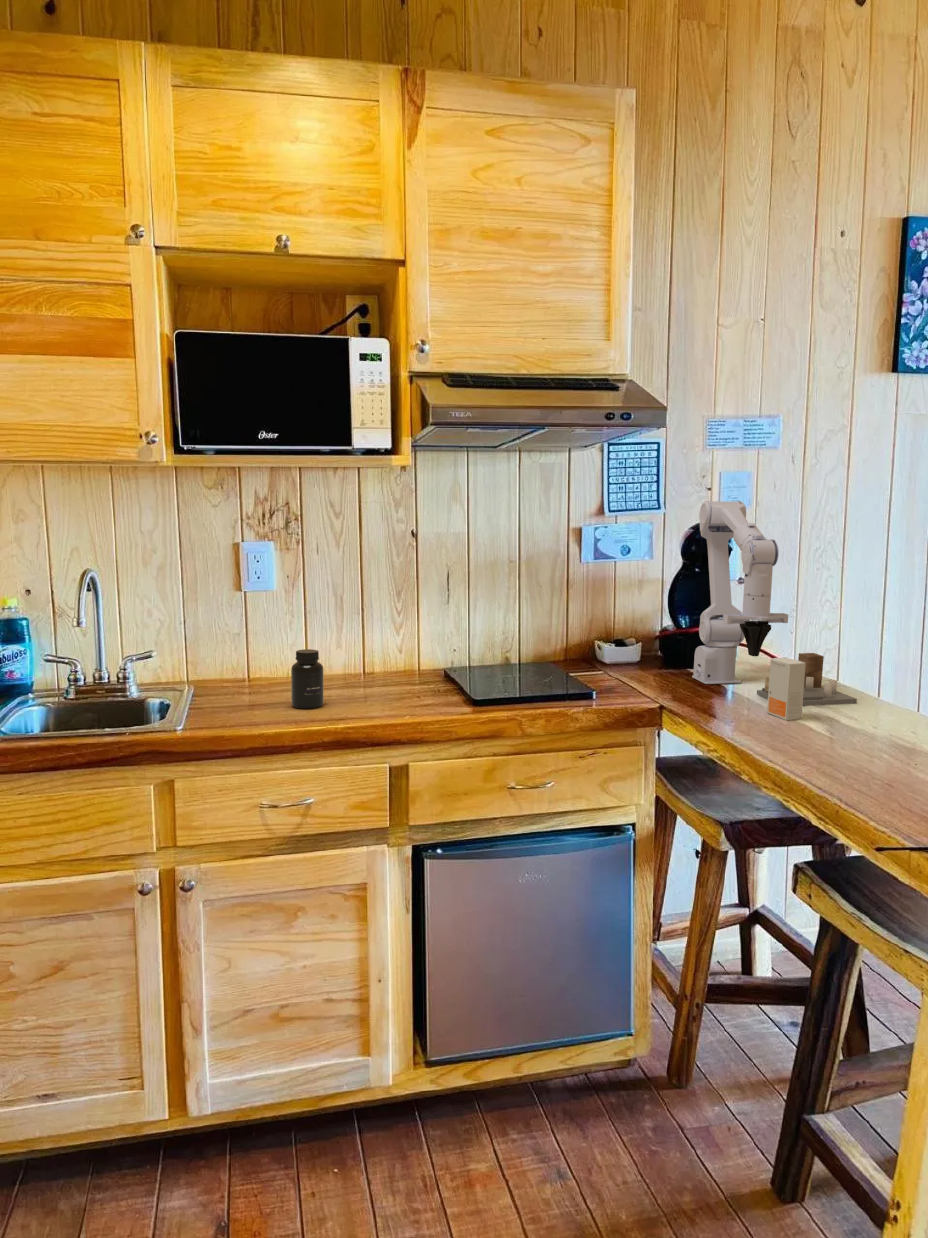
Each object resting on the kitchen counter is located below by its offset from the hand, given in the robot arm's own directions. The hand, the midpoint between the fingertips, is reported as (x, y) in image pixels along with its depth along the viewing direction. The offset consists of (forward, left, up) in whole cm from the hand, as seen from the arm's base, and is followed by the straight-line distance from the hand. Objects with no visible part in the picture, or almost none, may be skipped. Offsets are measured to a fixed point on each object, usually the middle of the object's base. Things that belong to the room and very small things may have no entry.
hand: (753, 655), depth 192 cm
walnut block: (+21, +10, -10) cm, 25 cm away
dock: (+14, 0, -10) cm, 17 cm away
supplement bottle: (-97, +11, -11) cm, 99 cm away
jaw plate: (+6, 0, -9) cm, 11 cm away
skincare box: (+1, -13, -11) cm, 17 cm away
